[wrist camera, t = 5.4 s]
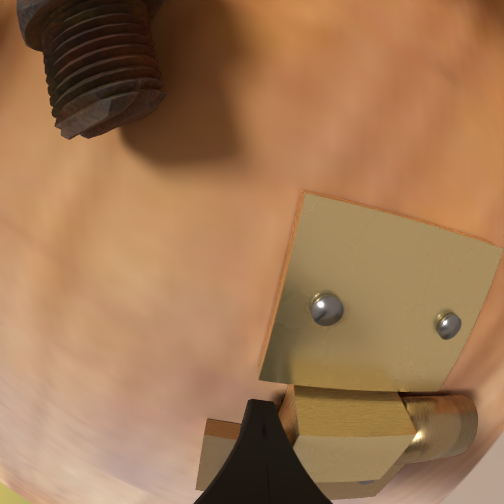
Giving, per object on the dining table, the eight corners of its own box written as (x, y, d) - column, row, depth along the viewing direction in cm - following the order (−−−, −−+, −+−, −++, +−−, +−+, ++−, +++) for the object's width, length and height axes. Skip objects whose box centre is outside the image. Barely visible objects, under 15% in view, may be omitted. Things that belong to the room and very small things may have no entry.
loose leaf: (398, 429, 13) (416, 474, 10) (242, 422, 12) (239, 477, 10) (490, 241, 10) (540, 269, 7) (301, 189, 9) (320, 206, 6)
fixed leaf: (382, 483, 15) (392, 520, 12) (197, 476, 14) (190, 520, 11) (459, 382, 12) (487, 424, 9) (216, 361, 12) (205, 422, 9)
